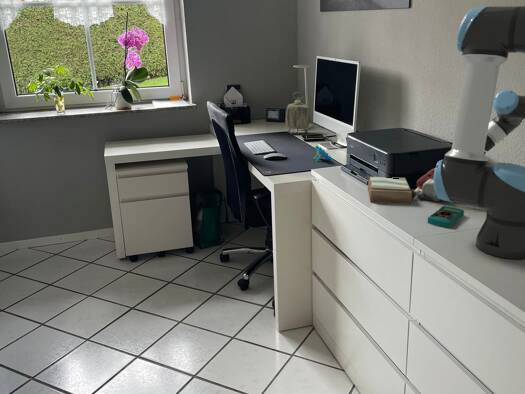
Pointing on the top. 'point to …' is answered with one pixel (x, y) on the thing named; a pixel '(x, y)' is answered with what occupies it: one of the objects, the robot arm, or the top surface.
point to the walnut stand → (389, 190)
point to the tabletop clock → (297, 115)
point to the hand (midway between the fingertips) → (440, 177)
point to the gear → (321, 154)
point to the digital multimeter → (446, 216)
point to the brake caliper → (426, 187)
